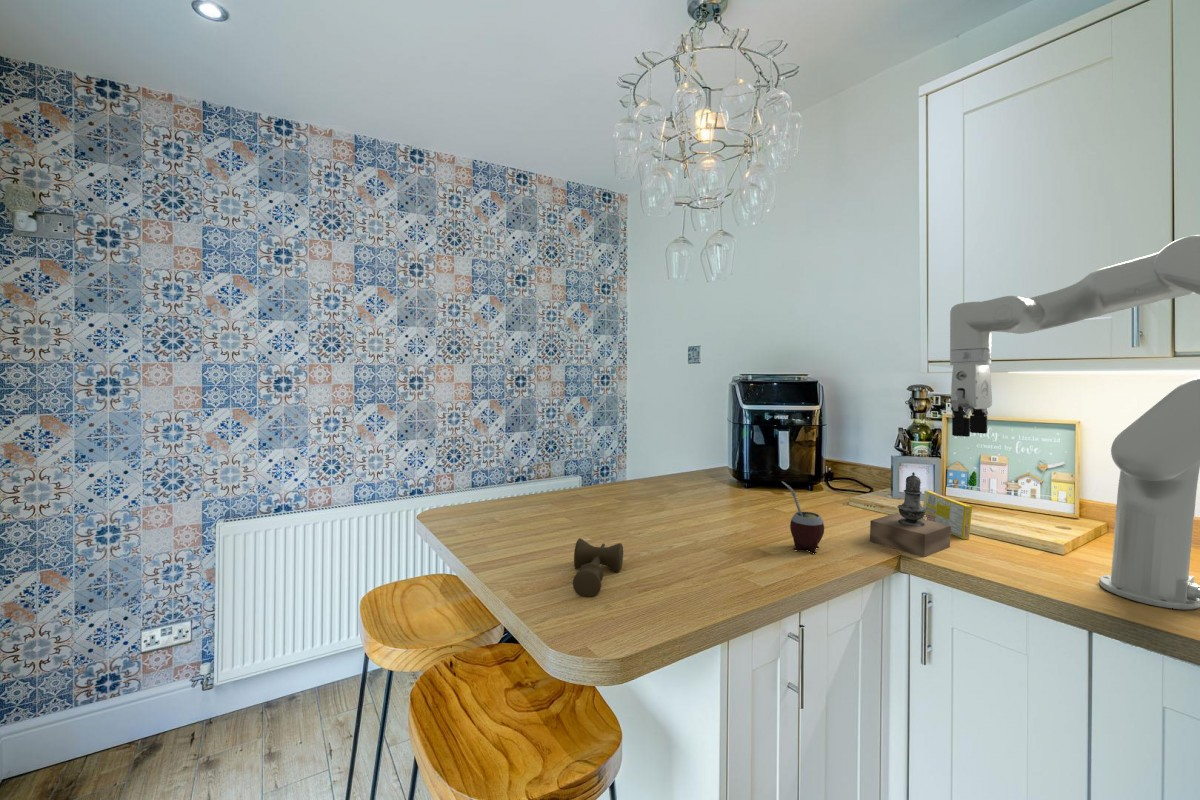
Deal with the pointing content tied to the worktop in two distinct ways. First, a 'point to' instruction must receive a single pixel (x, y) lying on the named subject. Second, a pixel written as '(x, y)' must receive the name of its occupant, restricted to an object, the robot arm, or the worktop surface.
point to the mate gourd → (805, 528)
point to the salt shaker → (912, 503)
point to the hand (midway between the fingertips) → (969, 434)
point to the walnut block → (910, 535)
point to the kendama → (594, 566)
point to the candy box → (948, 513)
